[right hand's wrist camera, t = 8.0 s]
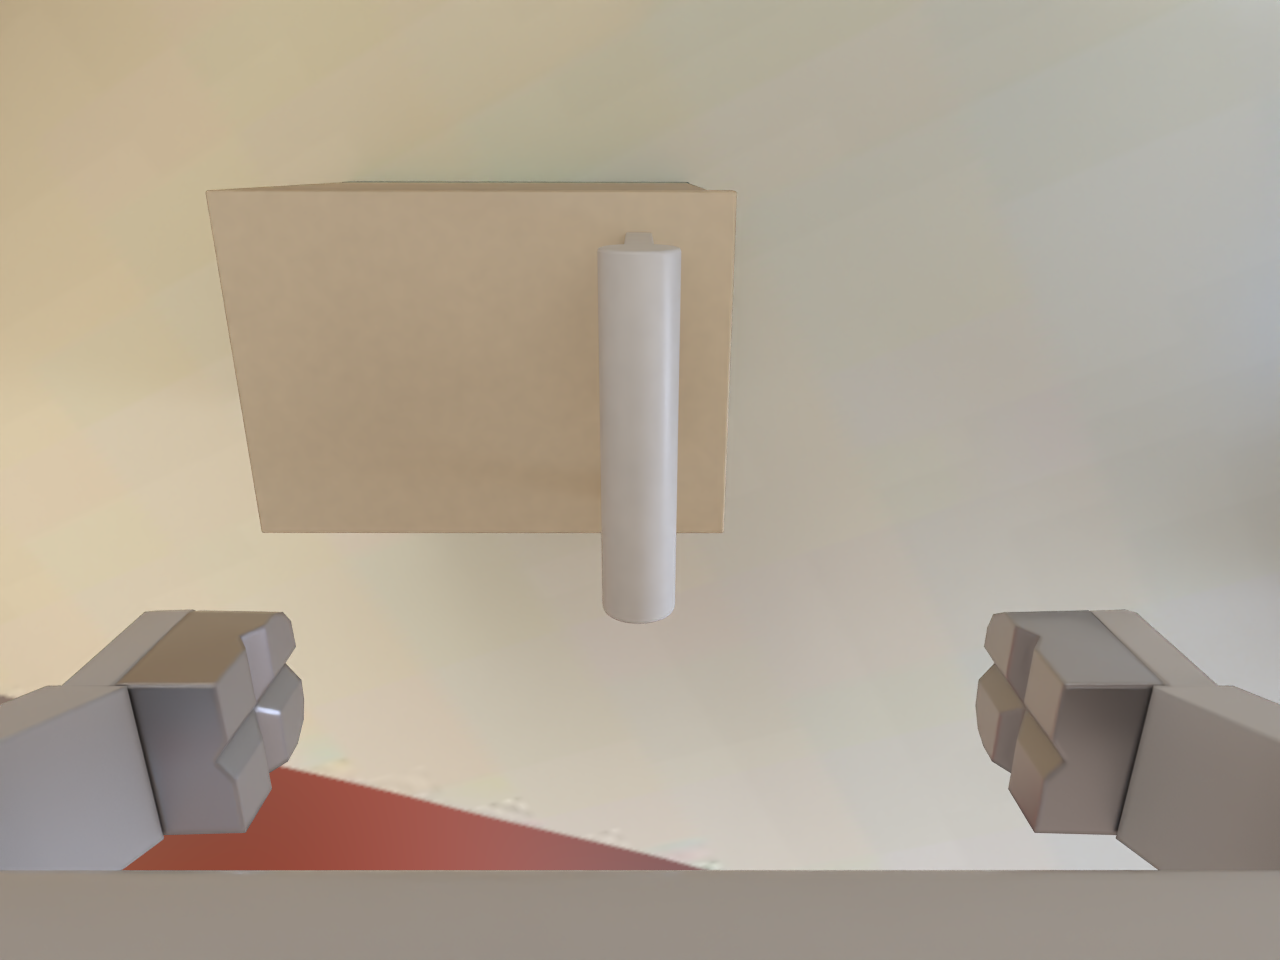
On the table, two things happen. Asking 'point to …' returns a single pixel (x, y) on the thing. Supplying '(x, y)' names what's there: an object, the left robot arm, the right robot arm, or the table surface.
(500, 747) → the table surface
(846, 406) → the table surface
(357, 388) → the lid
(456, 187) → the chest
